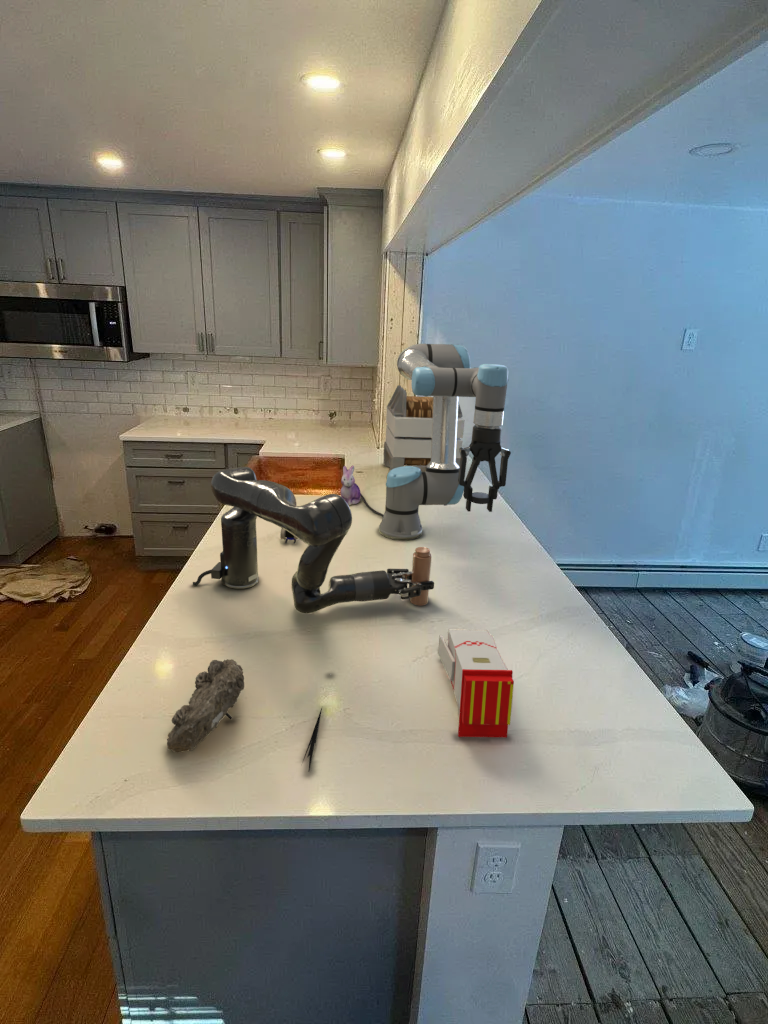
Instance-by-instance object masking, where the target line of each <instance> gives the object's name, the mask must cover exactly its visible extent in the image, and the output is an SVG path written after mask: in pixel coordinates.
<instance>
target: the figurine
mask: <svg viewBox="0 0 768 1024" xmlns="http://www.w3.org/2000/svg"><path fill="white" fill-rule="evenodd" d="M354 471H355V465H354V464H353V465H351V466H350V467H349V468H347V466H346V465H343V467H342V477H341V480H340V482H341V484H342V486H341V488H340V496H341V497H342V498H343V499H344V500H345V501H346V502H347V504H348V506H351V505H356V504H359V503H360V502H361V494H362V492H361V488H360V486H359V485H358V484H357V483H356V479H355V476H354Z"/></svg>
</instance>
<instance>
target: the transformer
mask: <svg viewBox="0 0 768 1024" xmlns="http://www.w3.org/2000/svg"><path fill="white" fill-rule="evenodd" d="M407 394H408V393H407V390H406V389H404V388H403V387H402V385H399V384H398V385H397V386H396V388H395V390H394V392H393V394H392V395H391V398H390V400H389V402H388V404H387V405H386V413H385V414H386V415H385V423H386V428H385V438H384V442H383V466H384V467H388V468H389V471H391V470H392V469H394V468H397V467H402V466H412V467H413V466H415V467H426V466H427V465H428V464H429V463H430V461H431V441H432V416H433V396H419V395H414V396H413V395H412V396H411V395H407ZM464 429H465V419H464V418H463V411H462V408H461V405H460V401H458V421H457V442H456V464H457V465H458V466H460V457H461V456H460V452H459V449H460V448H463V442H464V441H463V440H462V439H463V438H464V431H465V430H464Z"/></svg>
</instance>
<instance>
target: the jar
mask: <svg viewBox="0 0 768 1024" xmlns="http://www.w3.org/2000/svg"><path fill="white" fill-rule="evenodd" d="M411 568H412V569H411V572H412V579H411V580H412V581H413V582H424V581H431V568H432V553H431V550H430V548H428V547H426V546H418V547H416V548H415V549H414V552H413V553H412V566H411ZM413 586H416V585H412V587H413ZM414 593H416V592H414ZM429 594H430V590H422V591H421V595H420V596H416V597H412V598H409V602H410V603H411V604H412V605H414V606H420V607H421V606H425V605H427V604H428V603H429Z"/></svg>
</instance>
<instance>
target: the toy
mask: <svg viewBox="0 0 768 1024" xmlns="http://www.w3.org/2000/svg"><path fill="white" fill-rule="evenodd" d="M446 640H447V643H446V641H445V639H444V636H443V635H442V634H439V637H438V646H437V656H438V657H439V659H440V661H441V663H442V666H443V668H444V670H445V672H446V674H447V677H448V679H449V681H450V684H451V687H452V690H453V693H454V697H455V701H456V705H457V708H458V711H459V714H458V715H459V716H458V730H457V731H458V732H457V737H458V738H508V731H509V726H510V725H511V717H512V707H513V697H514V696H513V695H514V684H515V680H514V679H513V673H514V671H513V670H512V669H508V667H507V665H506V662H505V661H504V659H503V658H502V655H501V653H500V651H499V649H498V647H497V643H496V639H495V637H494V635H493V634H491V632H490V631H489V629H467V628H466V629H465V628H463V629H461V628H460V629H459V628H448V630H447V639H446Z"/></svg>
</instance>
